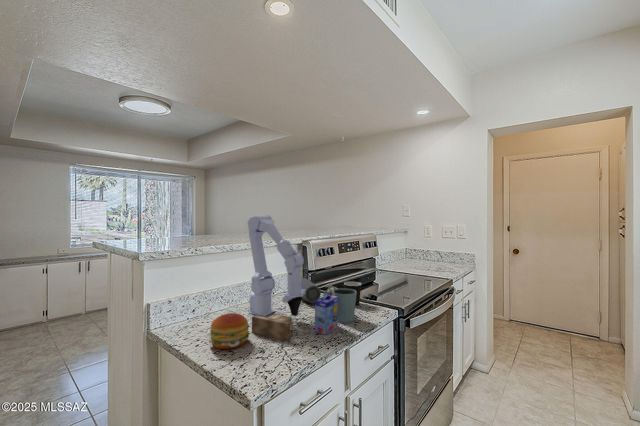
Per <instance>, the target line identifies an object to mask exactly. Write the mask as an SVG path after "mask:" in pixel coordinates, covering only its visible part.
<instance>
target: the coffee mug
mask: <svg viewBox="0 0 640 426" xmlns="http://www.w3.org/2000/svg"><path fill="white" fill-rule="evenodd" d="M336 288H338V289H340V288H347V289H353V290H355V291H356V292H357V294H356V303H355V307H356V306H359V305H360V299H361V292H362V282H358V281H345V282H344V283H343V285H338V286H336Z"/></svg>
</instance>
